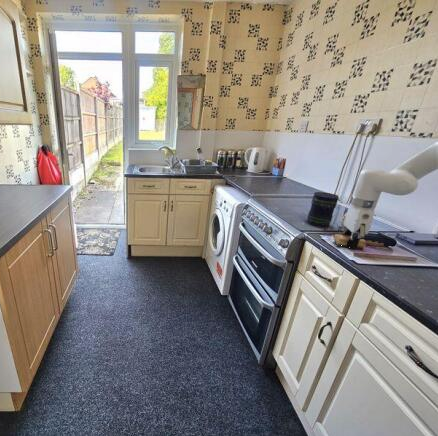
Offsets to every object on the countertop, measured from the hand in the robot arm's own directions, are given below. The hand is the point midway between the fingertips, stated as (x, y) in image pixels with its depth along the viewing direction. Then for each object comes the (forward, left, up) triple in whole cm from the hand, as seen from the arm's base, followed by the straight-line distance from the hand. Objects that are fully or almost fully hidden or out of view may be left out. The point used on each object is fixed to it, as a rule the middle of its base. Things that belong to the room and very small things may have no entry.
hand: (347, 245), depth 99 cm
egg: (-8, -25, -1) cm, 26 cm away
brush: (-3, 0, -1) cm, 3 cm away
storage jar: (+4, -24, -1) cm, 24 cm away
